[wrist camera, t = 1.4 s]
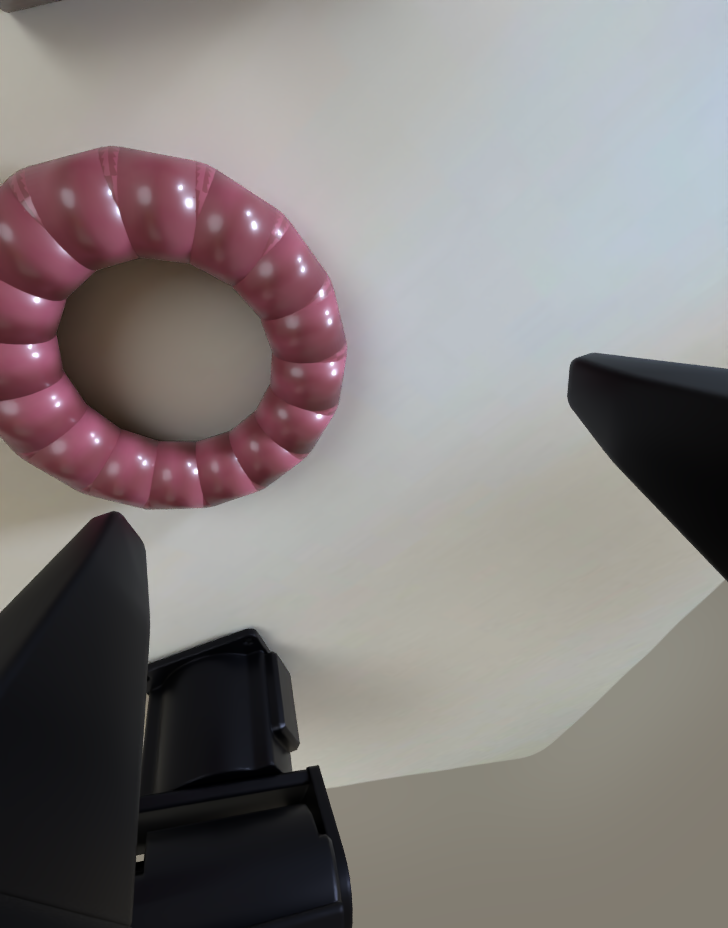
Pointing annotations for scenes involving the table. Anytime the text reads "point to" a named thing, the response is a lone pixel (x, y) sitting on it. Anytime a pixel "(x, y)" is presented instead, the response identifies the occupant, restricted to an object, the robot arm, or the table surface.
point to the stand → (21, 4)
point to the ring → (170, 239)
